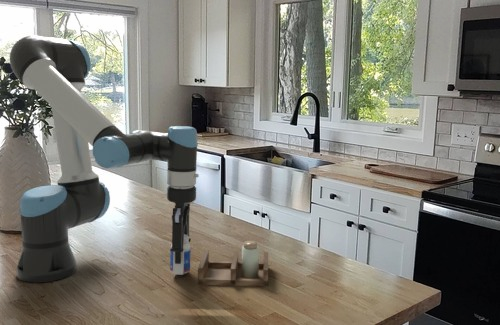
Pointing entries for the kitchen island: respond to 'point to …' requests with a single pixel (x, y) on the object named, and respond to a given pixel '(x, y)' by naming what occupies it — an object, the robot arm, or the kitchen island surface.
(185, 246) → the pill bottle
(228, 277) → the rack
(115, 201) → the kitchen island surface
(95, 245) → the kitchen island surface
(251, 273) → the jar
